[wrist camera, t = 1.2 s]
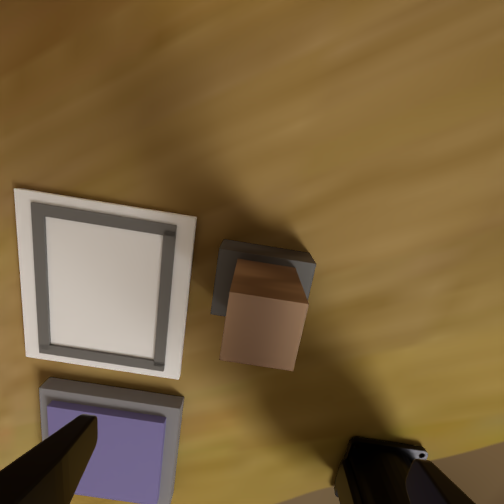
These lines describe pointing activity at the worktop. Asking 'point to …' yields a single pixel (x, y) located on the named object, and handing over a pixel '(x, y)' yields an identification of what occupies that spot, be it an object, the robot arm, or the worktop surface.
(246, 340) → the stamp
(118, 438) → the ink pad
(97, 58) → the worktop surface
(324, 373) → the worktop surface
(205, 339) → the worktop surface
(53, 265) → the marked card
